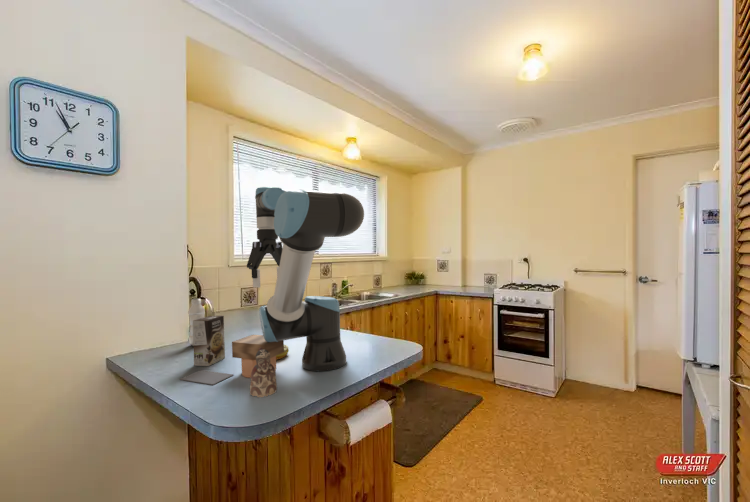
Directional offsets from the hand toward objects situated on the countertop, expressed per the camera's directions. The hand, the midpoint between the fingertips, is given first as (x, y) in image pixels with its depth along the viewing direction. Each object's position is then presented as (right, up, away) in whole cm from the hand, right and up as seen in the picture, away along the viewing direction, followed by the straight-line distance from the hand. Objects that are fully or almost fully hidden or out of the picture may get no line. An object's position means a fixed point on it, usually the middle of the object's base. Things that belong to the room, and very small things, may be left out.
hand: (269, 285), depth 125 cm
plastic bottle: (-37, -28, +19) cm, 50 cm away
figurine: (+9, -27, -32) cm, 43 cm away
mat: (-14, -27, -20) cm, 36 cm away
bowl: (+2, -27, -16) cm, 31 cm away
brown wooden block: (+2, -21, -16) cm, 27 cm away
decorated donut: (+1, -27, -1) cm, 27 cm away
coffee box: (-20, -28, -4) cm, 35 cm away
